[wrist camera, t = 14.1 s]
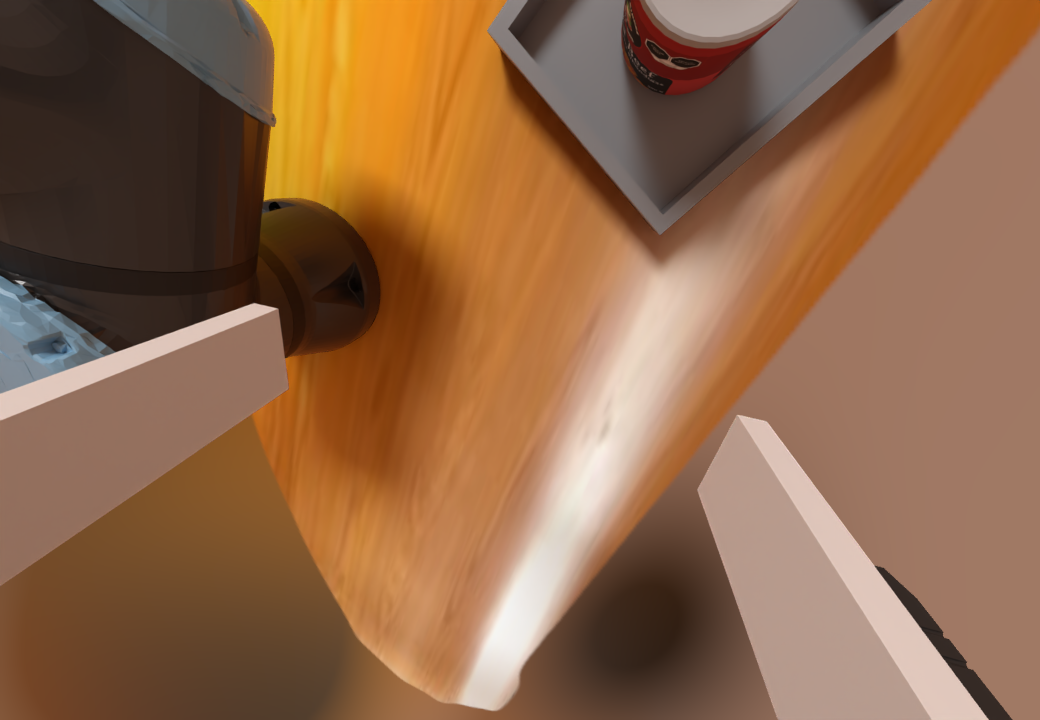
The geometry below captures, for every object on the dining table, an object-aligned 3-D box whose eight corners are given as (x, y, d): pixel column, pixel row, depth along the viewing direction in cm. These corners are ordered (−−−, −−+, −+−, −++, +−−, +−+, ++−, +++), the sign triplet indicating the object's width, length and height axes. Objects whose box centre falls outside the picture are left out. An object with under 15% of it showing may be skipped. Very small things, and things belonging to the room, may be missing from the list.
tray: (499, 48, 28) (487, 30, 25) (721, -266, 20) (743, -349, 17) (653, 230, 31) (660, 235, 28) (896, 17, 23) (942, -10, 20)
